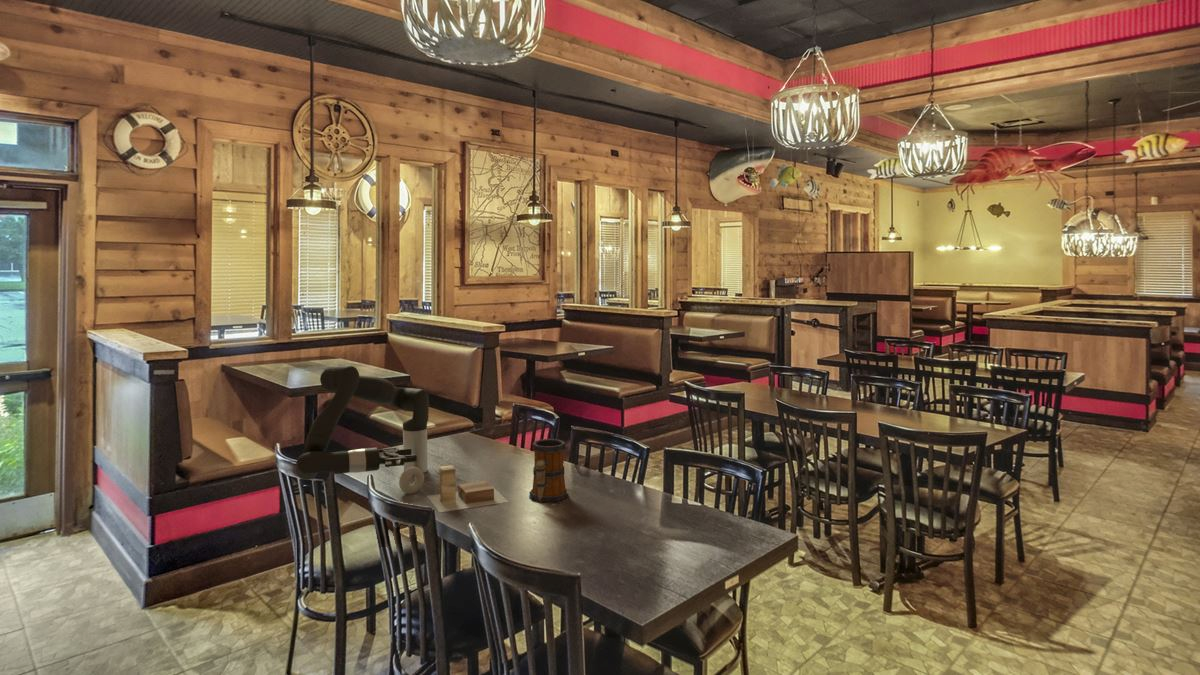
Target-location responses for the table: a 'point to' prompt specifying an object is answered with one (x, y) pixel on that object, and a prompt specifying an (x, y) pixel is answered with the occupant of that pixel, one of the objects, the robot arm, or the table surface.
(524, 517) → the table surface
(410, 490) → the donut
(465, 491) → the walnut base
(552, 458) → the mug
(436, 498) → the build mat
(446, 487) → the maple pillar
